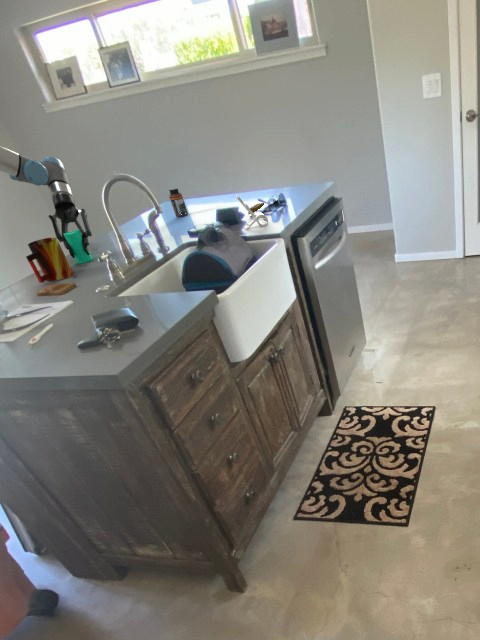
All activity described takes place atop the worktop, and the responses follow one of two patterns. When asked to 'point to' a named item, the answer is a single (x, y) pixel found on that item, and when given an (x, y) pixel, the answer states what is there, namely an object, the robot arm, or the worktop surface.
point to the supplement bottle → (178, 202)
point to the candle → (77, 246)
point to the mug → (49, 260)
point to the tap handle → (256, 207)
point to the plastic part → (254, 216)
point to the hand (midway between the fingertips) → (79, 254)
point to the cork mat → (56, 289)
